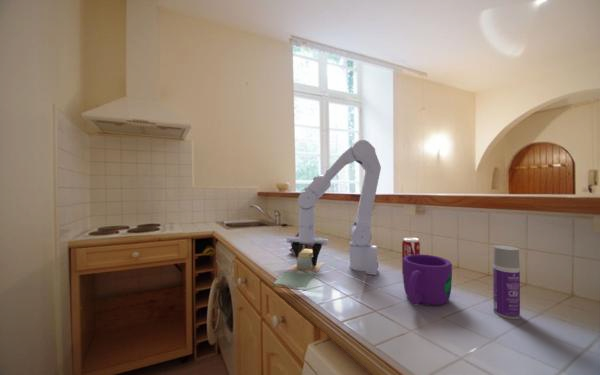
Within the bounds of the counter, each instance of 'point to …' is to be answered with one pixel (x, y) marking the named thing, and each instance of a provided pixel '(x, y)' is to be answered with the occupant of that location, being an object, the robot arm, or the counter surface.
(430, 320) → the counter surface
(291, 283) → the stand
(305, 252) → the cover
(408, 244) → the soda can
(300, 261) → the base
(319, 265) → the stand
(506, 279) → the container
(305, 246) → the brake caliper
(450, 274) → the mug
